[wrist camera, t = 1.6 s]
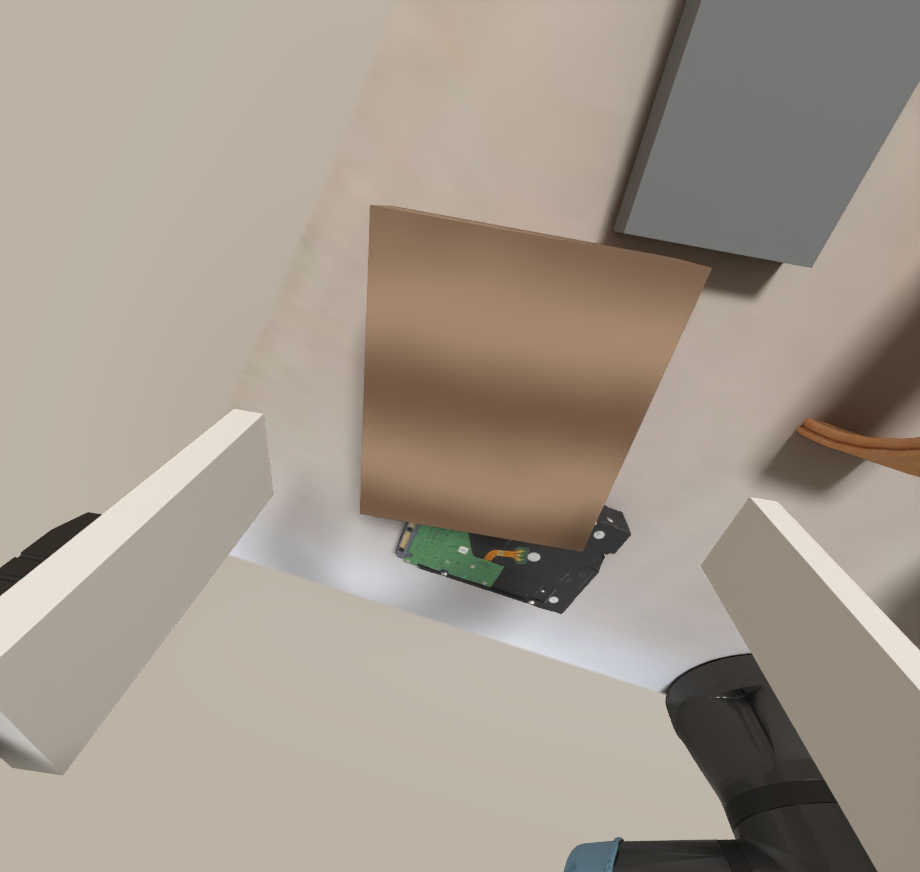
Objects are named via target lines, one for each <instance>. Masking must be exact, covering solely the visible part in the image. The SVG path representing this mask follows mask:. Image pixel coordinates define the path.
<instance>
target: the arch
mask: <svg viewBox="0 0 920 872" xmlns="http://www.w3.org/2000/svg"><path fill="white" fill-rule="evenodd" d="M803 425H804V427H798V428H797V429H796V430H795V431H797V432H798V433H800V434H801V435H802V436H804V437H807V438H809V439H811V440H813V441H816V442H818V443H820V444H822V445H825V446H827V447H830V448H833V449H836V450H839V451H842V452H845V453H848V454H851V455H854V456H857V457H860V458H863V459H866V460H869V461H872V462H875V463H877V464H880V465H883V466H886V467H889V468H892V469H895V470H898V471H901V472H904V473H907V474H911V475H915V476H918V477H920V437H917V438H906V439H897V438H872V437H866V436H863V435H860V434H858V433H855V432H852V431H849V430H846V429H843V428H840V427H837V426H834V425H831V424H828V423H825V422H822V421H820V420H819V421H817V422H816V421H815V420H813V419H811V418H809V419H806V420H805V421H804V422H803Z"/></svg>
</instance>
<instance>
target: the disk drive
mask: <svg viewBox="0 0 920 872" xmlns="http://www.w3.org/2000/svg"><path fill="white" fill-rule="evenodd" d="M630 536H631V532H630V530H629V527H628V524H627V522H626V520H625V518H624V516H623V513H622V512H620V511H617V510H614V509H612V508H608V507H607V506H605V505H604V506H603V508H602V510H601V513H600V515H599V517H598V519H597V521H596V524H595V526H594V528H593V530H592V532H591V535H590V537H589V539H588V541H587V543H586V546H585V548H584V550H583V552H580V551H575V550H569V549H563V548H557V547H551V546H545V545H539V544H534V543H528V542H522V541H516V540H510V539H504V538H498V537H492V536H487V535H481V534H475V533H469V532H463V531H457V530H451V529H446V528H440V527H434V526H428V525H422V524H416V523H410V522H407V523H406V526H405V528H404V530H403V533H402V535H401V537H400V540H399V543H398V546H397V550H396V554H397V557H400V558H404V562H406V563H410V564H413V565H417V567H418V568H420V569H423V570H426V571H428V572H431V573H436V574H439V575H443V576H446V577H448V578H451V579H455V580H457V581H460V582H463V583H467V584H470V585H473V586H476V587H479V588H482V589H485V590H488V591H492V592H494V593H497V594H501V595H503V596H506V597H509V598H512V599H516V600H518V601H521V602H525V603H528V604H531V605H534V606H536V607H538V608H542V609H545V610H549V611H553V612H557V613H559V614H562V613H563V612H564V611H565V610H566V609H567V608H568V607H569V605H570V604H571V603H572V602H573V601H574V599H575V598H576V597H577V596H578V595H579V594H580V593H581V592H582V590H583V589H584V588H585V587H586V586H587V585H588V584H589V583H590V581H591V580H592V579H593V578H594V577H595V576H596V575H597V574H598V572H599V569H600V567H601V564H602V562H603V560H604V558H605V556H604V554H610V553H612V554H615V553H616V552H617V550H618V549H619V548H620V547H621V546H622V545H623V543H624V542H625V541H626V540H627V539H628V538H629V537H630Z"/></svg>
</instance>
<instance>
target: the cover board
mask: <svg viewBox="0 0 920 872" xmlns="http://www.w3.org/2000/svg"><path fill="white" fill-rule="evenodd" d="M711 270H712V268H711V267H707V266H703V265H699V264H696V263H692V262H688V261H684V260H681V259H677V258H673V257H667V256H662V255H656V254H651V253H645V252H640V251H635V250H629V249H624V248H618V247H613V246H607V245H602V244H596V243H591V242H586V241H580V240H575V239H569V238H564V237H558V236H553V235H547V234H542V233H536V232H531V231H526V230H520V229H515V228H509V227H504V226H498V225H493V224H487V223H482V222H477V221H471V220H466V219H460V218H455V217H449V216H444V215H438V214H433V213H427V212H422V211H417V210H411V209H406V208H400V207H395V206H379V205H370V225H369V256H368V286H367V317H366V347H365V377H364V408H363V438H362V468H361V499H360V514H363V515H369V516H375V517H381V518H387V519H393V520H399V521H405V522H410V523H416V524H422V525H428V526H434V527H440V528H446V529H451V530H457V531H463V532H469V533H475V534H481V535H487V536H492V537H498V538H504V539H510V540H516V541H522V542H528V543H534V544H539V545H545V546H551V547H557V548H563V549H569V550H575V551H580V552H583V550H584V548H585V546H586V543H587V541H588V539H589V537H590V535H591V532H592V530H593V528H594V526H595V524H596V521H597V519H598V517H599V515H600V513H601V510H602V508H603V506H604V504H605V502H606V500H607V497H608V495H609V493H610V491H611V489H612V486H613V484H614V482H615V480H616V478H617V475H618V473H619V471H620V469H621V467H622V464H623V462H624V460H625V458H626V456H627V454H628V451H629V449H630V447H631V445H632V443H633V440H634V438H635V436H636V434H637V432H638V429H639V427H640V425H641V423H642V421H643V418H644V416H645V414H646V412H647V410H648V408H649V405H650V403H651V401H652V399H653V397H654V394H655V392H656V390H657V388H658V386H659V383H660V381H661V379H662V377H663V375H664V372H665V370H666V368H667V366H668V364H669V362H670V359H671V357H672V355H673V353H674V351H675V348H676V346H677V344H678V342H679V340H680V337H681V335H682V333H683V331H684V329H685V326H686V324H687V322H688V320H689V318H690V316H691V313H692V311H693V309H694V307H695V305H696V302H697V300H698V298H699V296H700V294H701V291H702V289H703V287H704V285H705V283H706V280H707V278H708V276H709V274H710V272H711Z"/></svg>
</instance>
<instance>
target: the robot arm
mask: <svg viewBox="0 0 920 872" xmlns="http://www.w3.org/2000/svg"><path fill="white" fill-rule="evenodd" d="M272 496H273V487H272V479H271V471H270V463H269V455H268V447H267V439H266V431H265V423H264V415H263V414H260V413H255V412H249V411H243V410H237V409H234V410H232V411H231V412H230V413H229V414H227V415H226V416H225V417H224V418H222V419H221V420H220V421H219V422H217V423H216V424H215V425H214V426H212V427H211V428H210V429H209V430H207V431H206V432H205V433H204V434H202V435H201V436H200V437H199V438H197V439H196V440H195V441H194V442H192V443H191V444H190V445H189V446H187V447H186V448H185V449H184V450H182V451H181V452H180V453H179V454H177V455H176V456H175V457H174V458H172V459H171V460H170V461H169V462H167V463H166V464H165V465H164V466H162V467H161V468H160V469H159V470H157V471H156V472H155V473H154V474H152V475H151V476H150V477H149V478H147V479H146V480H145V481H144V482H143V483H141V484H140V485H139V486H137V487H136V488H135V489H134V490H132V491H131V492H130V493H129V494H127V495H126V496H125V497H124V498H122V499H121V500H120V501H119V502H118V503H116V504H115V505H114V506H112V507H111V508H110V509H109V510H107V511H106V512H105V513H104V514H95V513H89V512H88V513H85V514H83V515H81V516H79V517H77V518H75V519H73V520H71V521H69V522H67V523H64V524H63V525H60V526H58V527H56V528H54V529H52V530H50V531H49V532H48V533H46V534H45V535H44V536H42V537H41V538H40V539H38V540H37V541H36V542H34V543H33V544H32V545H30V546H29V547H28V548H26V549H25V550H24V551H23V552H21V555H20V556H19V557H18V558H16V557H14V558H13V559H11V560H10V561H9V562H7V563H6V564H5V565H3V566H2V567H1V568H0V757H1V758H2V759H3V760H4V761H5V762H6V763H8V764H9V765H10V766H11V767H12V768H18V769H24V770H31V771H37V772H45V773H51V774H58V775H64V773H65V772H66V771H67V769H68V768H69V767H70V765H71V764H72V763H73V761H74V760H75V759H76V757H77V756H78V755H79V753H80V752H81V751H82V749H83V748H84V747H85V745H86V744H87V743H88V741H89V740H90V738H91V737H92V736H93V735H94V733H95V732H96V731H97V729H98V728H99V727H100V725H101V724H102V722H103V721H104V720H105V718H106V717H107V716H108V714H109V713H110V712H111V711H112V709H113V708H114V707H115V705H116V704H117V703H118V701H119V700H120V698H121V697H122V696H123V694H124V693H125V692H126V691H127V689H128V688H129V686H130V685H131V684H132V682H133V681H134V680H135V678H136V677H137V675H138V674H139V673H140V672H141V670H142V669H143V668H144V666H145V665H146V664H147V662H148V661H149V660H150V658H151V657H152V656H153V654H154V653H155V652H156V650H157V649H158V648H159V646H160V645H161V644H162V642H163V641H164V639H165V638H166V637H167V636H168V634H169V633H170V632H171V630H172V629H173V628H174V626H175V625H176V624H177V622H178V621H179V620H180V618H181V617H182V616H183V614H184V613H185V612H186V610H187V609H188V608H189V606H190V605H191V604H192V602H193V601H194V600H195V598H196V597H197V596H198V594H199V593H200V592H201V590H202V589H203V587H204V586H205V585H206V584H207V582H208V581H209V580H210V578H211V577H212V576H213V574H214V573H215V572H216V570H217V569H218V568H219V566H220V565H221V564H222V562H223V561H224V559H225V558H226V557H227V556H228V554H229V553H230V552H231V550H232V549H233V548H234V546H235V545H236V544H237V542H238V541H239V540H240V538H241V537H242V536H243V534H244V533H245V532H246V530H247V529H248V528H249V526H250V525H251V524H252V522H253V521H254V520H255V518H256V517H257V516H258V514H259V513H260V512H261V510H262V509H263V508H264V506H265V505H266V504H267V502H268V501H269V500H270V498H271V497H272ZM701 567H702V568H703V570H704V572H705V574H706V575H707V577H708V579H709V581H710V582H711V584H712V586H713V587H714V589H715V591H716V593H717V594H718V596H719V598H720V600H721V601H722V603H723V605H724V606H725V608H726V610H727V612H728V613H729V615H730V617H731V619H732V620H733V622H734V624H735V626H736V627H737V629H738V631H739V632H740V634H741V636H742V638H743V639H744V641H745V643H746V645H747V646H748V648H749V650H750V652H751V653H752V655H743V656H736V657H730V658H726V659H721V660H718V661H714V662H711V663H708V664H705V665H703V666H700V667H698V668H696V669H694V670H692V671H690V672H688V673H687V674H685V675H684V676H682V677H681V678H680V679H678V680H677V681H676V682H675V683H674V684H673V685H672V686H671V688H670V689H669V691H668V693H667V695H666V707H667V710H668V713H669V716H670V718H671V722H672V724H673V727H674V729H675V731H676V733H677V735H678V737H679V738H680V739H681V740H682V741H683V743H684V744H685V745H686V747H687V749H688V750H689V752H690V754H691V755H692V757H693V759H694V760H695V762H696V763H697V765H698V767H699V768H700V770H701V771H702V772H703V774H704V776H705V777H706V779H707V781H708V782H709V783H710V785H711V787H712V788H713V790H714V791H715V793H716V794H717V796H718V797H719V799H720V801H721V803H722V805H723V808H724V810H725V813H726V815H727V818H728V821H729V823H730V826H731V828H732V831H733V833H734V837H735V840H673V841H672V840H670V841H625V842H624V840H623V839H622V838H621V837H618V838H615V839H614V841H607V842H596V843H584V844H580V845H578V846H577V847H575V848H574V849H573V850H572V851H571V853H570V855H569V857H568V859H567V862H566V865H565V869H564V872H920V650H919V649H918V648H917V647H916V646H915V645H914V644H913V643H912V642H911V641H910V640H909V639H908V638H907V637H906V636H905V634H904V633H903V632H902V631H901V630H900V629H899V628H898V627H897V626H896V625H895V624H894V623H893V622H892V621H891V620H890V619H889V618H888V617H887V616H886V615H885V614H884V613H883V612H882V610H881V609H880V608H879V607H878V606H877V605H876V604H875V603H874V602H873V601H872V600H871V599H870V598H869V597H868V596H867V595H866V594H865V593H864V592H863V591H862V590H861V589H860V587H859V586H858V585H857V584H856V583H855V582H854V581H853V580H852V579H851V578H850V577H849V576H848V575H847V574H846V573H845V572H844V571H843V570H842V569H841V568H840V567H839V566H838V565H837V563H836V562H835V561H834V560H833V559H832V558H831V557H830V556H829V555H828V554H827V553H826V552H825V551H824V550H823V549H822V548H821V547H820V546H819V545H818V544H817V543H816V542H815V540H814V539H813V538H812V537H811V536H810V535H809V534H808V533H807V532H806V531H805V530H804V529H803V528H802V527H801V526H800V525H799V524H798V523H797V522H796V521H795V520H794V519H793V518H792V516H791V515H790V514H789V513H788V512H787V511H786V510H785V509H784V508H783V507H782V506H781V505H780V504H779V503H778V502H776V501H770V500H765V499H759V498H753V497H749V499H748V500H747V502H746V503H745V504H744V506H743V507H742V509H741V510H740V511H739V513H738V514H737V516H736V517H735V518H734V520H733V521H732V523H731V524H730V525H729V527H728V528H727V530H726V531H725V532H724V534H723V535H722V536H721V538H720V539H719V541H718V542H717V543H716V545H715V546H714V548H713V549H712V550H711V552H710V553H709V555H708V556H707V557H706V559H705V560H704V562H703V563H702V564H701Z"/></svg>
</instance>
